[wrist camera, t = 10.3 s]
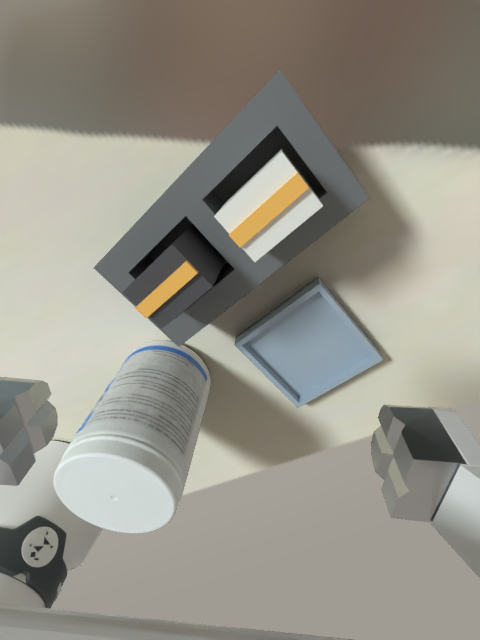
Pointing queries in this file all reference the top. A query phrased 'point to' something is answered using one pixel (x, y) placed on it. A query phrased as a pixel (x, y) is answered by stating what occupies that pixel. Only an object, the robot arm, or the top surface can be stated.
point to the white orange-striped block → (268, 206)
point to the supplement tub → (137, 441)
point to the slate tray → (308, 345)
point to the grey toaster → (209, 235)
